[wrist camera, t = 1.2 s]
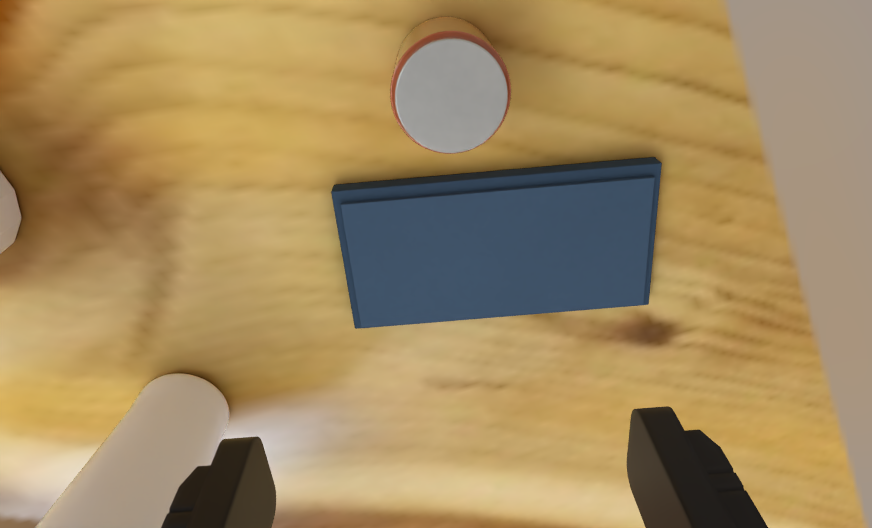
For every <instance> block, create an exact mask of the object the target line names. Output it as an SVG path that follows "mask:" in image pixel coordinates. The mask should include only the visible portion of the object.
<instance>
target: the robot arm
mask: <svg viewBox="0 0 872 528" xmlns="http://www.w3.org/2000/svg"><path fill="white" fill-rule="evenodd" d="M627 472H628V479H629V483H630V487H631V490H632V493H633V496H634V498H635V501H636V503H637V506H638V508H639V511H640V514H641V516H642V519H643V521H644V524H645V527H646V528H768V527H767V525H766V523H765V522H764V520H763V518H762V517H761V515H760V513H759V512H758V510H757V508H756V507H755V505H754V503H753V501H752V500H751V498H750V496H749V495H748V493H747V491H744V488H743V485H742V483H741V481H740V480H739V478H738V476H737V475H736V473H734V472H733V468H732V466H731V464H730V463H729V461H728V459H727V458H726V456H725V454H724V453H723V451H722V449H721V448H720V447H719V446H718V445H717V444H716V443H715V442H713V441H712V440H711V439H710V438H709V437H708V436H706V435H705V434H704V433H703V432H702V431H700V430H688V431H684V429H683V427H682V425H681V424H680V422H679V420H678V418H677V416H676V414H675V413H674V411H673V410H672V408H670V407H655V408H642V409H634V410H633V411H632V414H631V422H630V432H629V443H628V453H627ZM275 509H276V490H275V485H274V481H273V478H272V474H271V471H270V468H269V464H268V461H267V457H266V454H265V451H264V447H263V444H262V441H261V439H260V438H259V437H246V438H233V439H224V440H222V441H221V442H220V444H219V446H218V448H217V451H216V453H215V456H214V458H213V461H212V463H211V465H208V466H197V467H196V468H195V470H194V471H193V472H192V473H191V474H190V475H189V476H188V477H187V478H186V480H185V481H184V482H183V483H182V484H181V485H180V486H179V488H178V490H177V493H176V495H175V497H174V499H173V502H172V504H171V506H170V508H169V513H167V515H166V517H165V520H164V522H163V524H162V526H161V528H271V527H272V523H273V519H274V515H275Z"/></svg>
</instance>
